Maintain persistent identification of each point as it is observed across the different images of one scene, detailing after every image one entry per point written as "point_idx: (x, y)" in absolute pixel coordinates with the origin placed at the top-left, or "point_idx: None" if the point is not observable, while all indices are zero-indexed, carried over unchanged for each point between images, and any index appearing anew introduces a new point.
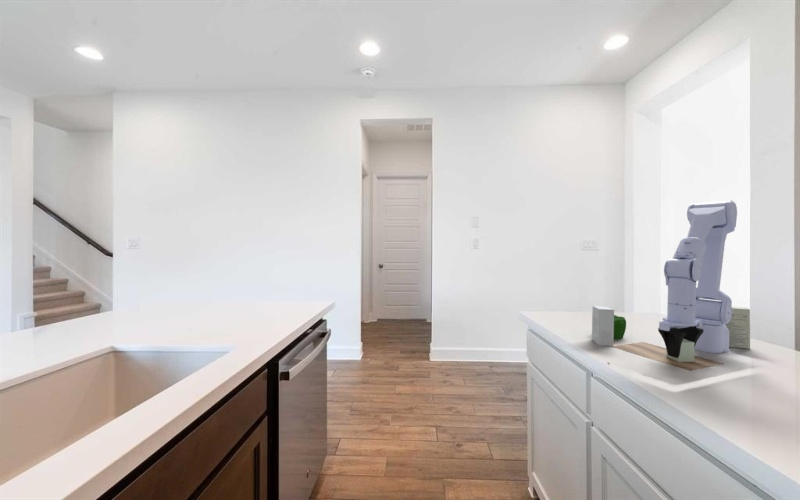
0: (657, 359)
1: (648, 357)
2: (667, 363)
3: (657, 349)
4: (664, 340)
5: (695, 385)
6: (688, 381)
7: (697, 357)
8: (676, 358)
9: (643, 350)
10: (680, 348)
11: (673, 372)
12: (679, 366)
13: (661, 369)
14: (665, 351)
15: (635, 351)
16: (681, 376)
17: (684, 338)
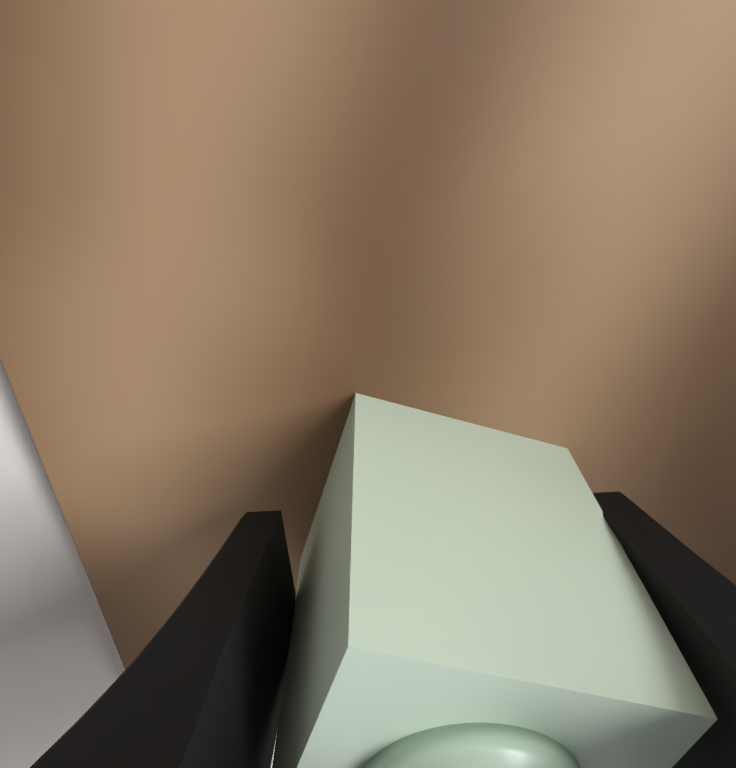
0: (84, 447)
1: (19, 351)
2: (88, 564)
3: (658, 50)
4: (83, 728)
5: (6, 765)
6: (19, 724)
7: (729, 527)
8: (303, 556)
9: (284, 4)
10: (273, 749)
11: (70, 600)
12: (140, 644)
13: (10, 528)
14: (654, 202)
15: (35, 8)
16: (58, 664)
17: (726, 760)
